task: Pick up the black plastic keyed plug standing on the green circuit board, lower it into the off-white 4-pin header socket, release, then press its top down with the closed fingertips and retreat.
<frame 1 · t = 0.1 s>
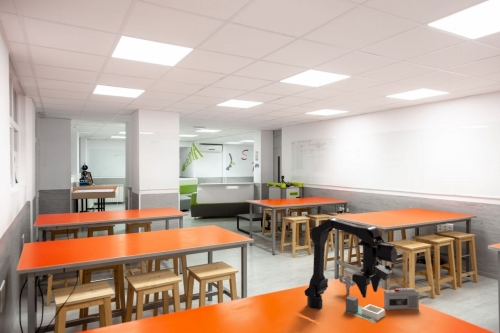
hand: (369, 294, 134), 15 cm above the table, fingers open, 9 cm apart
mechanical component: (347, 295, 169), on the table
board: (364, 314, 147), on the table
header: (373, 314, 146), resting on board
cassette player: (401, 310, 152), on the table
plug: (351, 311, 149), point 1 cm above the table, touching board
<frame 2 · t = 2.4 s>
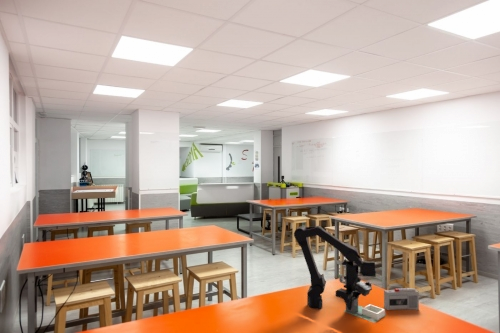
hand: (351, 308, 149), 2 cm above the table, fingers closed on plug, 4 cm apart
plug: (351, 311, 149), point 1 cm above the table, touching board, gripper
everything else where it was.
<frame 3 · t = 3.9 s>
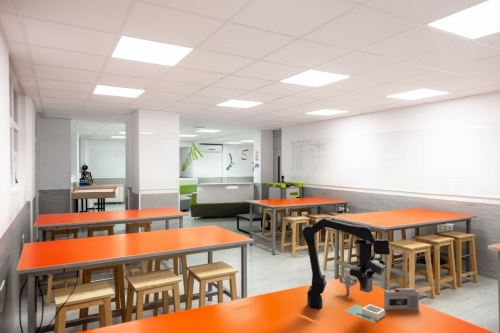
hand: (366, 287, 147), 13 cm above the table, fingers closed on plug, 4 cm apart
plug: (366, 290, 147), point 11 cm above the table, touching gripper
everything else where it was.
when the fingers open (4 cm above the table, at t = 5.7 s): plug drops 2 cm, resting on header.
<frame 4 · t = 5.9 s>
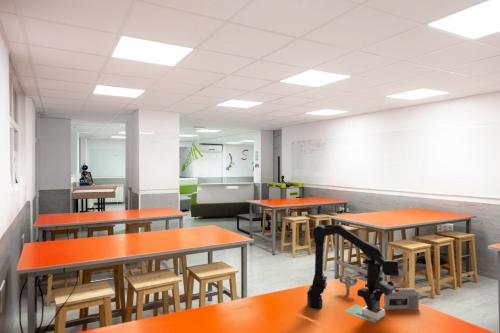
hand: (373, 308, 146), 4 cm above the table, fingers open, 6 cm apart
plug: (373, 314, 146), point 1 cm above the table, touching header
everything else where it was.
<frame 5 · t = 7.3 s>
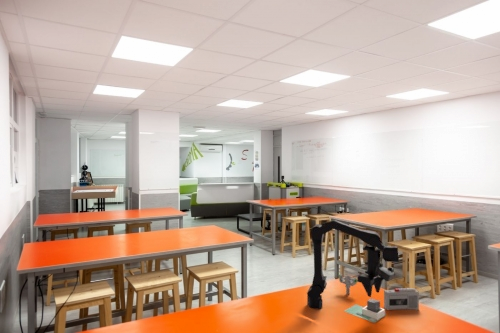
hand: (373, 294, 146), 10 cm above the table, fingers open, 7 cm apart
nothing on the table moved.
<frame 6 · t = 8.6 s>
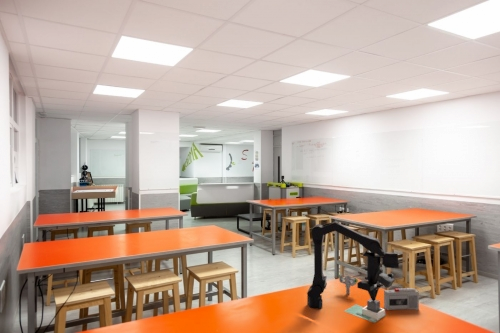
hand: (373, 300, 146), 7 cm above the table, fingers closed
nothing on the table moved.
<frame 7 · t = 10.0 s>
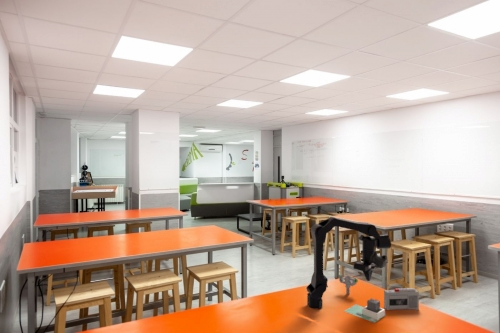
hand: (368, 280, 157), 12 cm above the table, fingers closed
nothing on the table moved.
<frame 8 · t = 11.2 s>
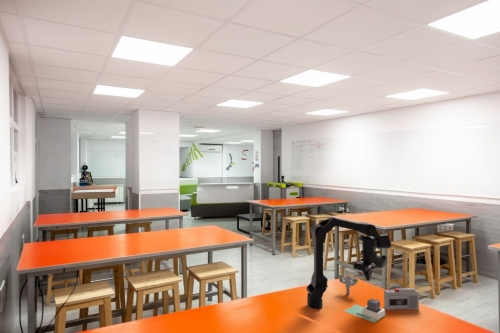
hand: (368, 280, 157), 12 cm above the table, fingers closed
nothing on the table moved.
at the end: plug 0.0 cm off-centre on the header, point 0.2 cm above the header's base; plug tilted 0°; the gripper is holding nothing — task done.
